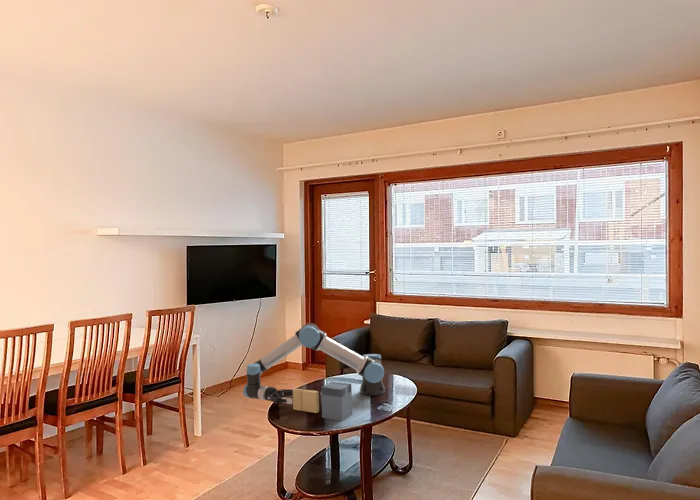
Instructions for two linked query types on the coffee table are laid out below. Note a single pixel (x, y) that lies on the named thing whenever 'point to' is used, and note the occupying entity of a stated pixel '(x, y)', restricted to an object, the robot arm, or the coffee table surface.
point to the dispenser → (336, 400)
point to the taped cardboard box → (306, 400)
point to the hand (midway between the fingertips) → (299, 397)
